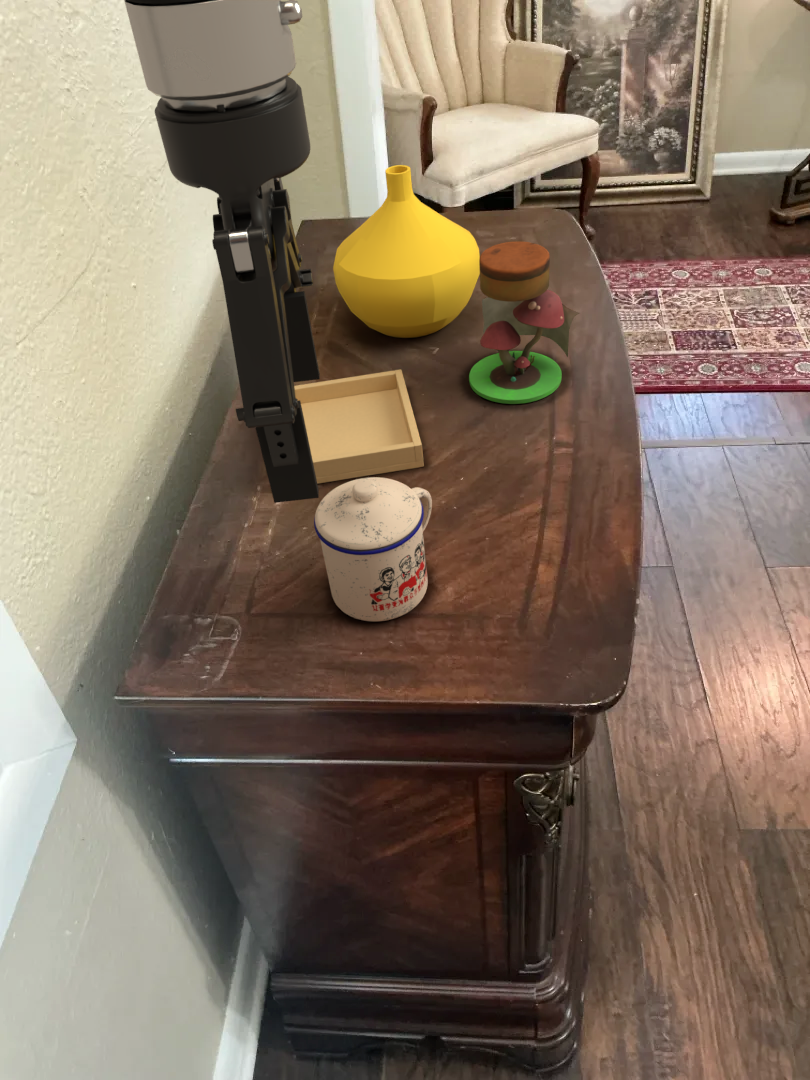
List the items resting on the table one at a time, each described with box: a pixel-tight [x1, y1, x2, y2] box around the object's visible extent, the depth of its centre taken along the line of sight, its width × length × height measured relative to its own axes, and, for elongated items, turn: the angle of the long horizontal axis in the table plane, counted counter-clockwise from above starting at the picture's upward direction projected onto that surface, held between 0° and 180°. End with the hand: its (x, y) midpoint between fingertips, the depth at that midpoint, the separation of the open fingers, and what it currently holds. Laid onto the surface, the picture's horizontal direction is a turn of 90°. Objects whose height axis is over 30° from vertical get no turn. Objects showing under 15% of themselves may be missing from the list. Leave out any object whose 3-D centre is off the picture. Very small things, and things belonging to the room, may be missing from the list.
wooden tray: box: [294, 369, 425, 485], centre depth 94 cm, size 15×15×3 cm
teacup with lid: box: [313, 476, 433, 622], centre depth 74 cm, size 12×9×12 cm
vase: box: [332, 164, 481, 339], centre depth 106 cm, size 18×18×19 cm
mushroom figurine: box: [468, 240, 581, 405], centre depth 95 cm, size 12×13×15 cm
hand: (299, 433), depth 58 cm, fingers open, 13 cm apart
